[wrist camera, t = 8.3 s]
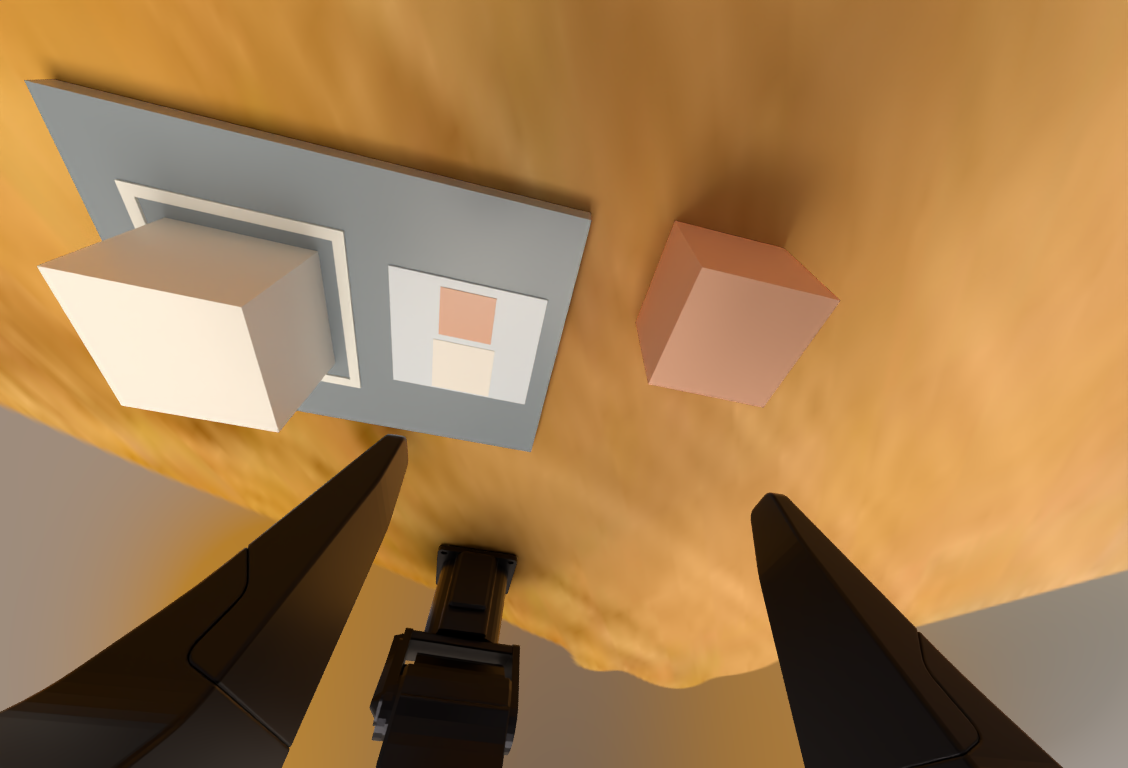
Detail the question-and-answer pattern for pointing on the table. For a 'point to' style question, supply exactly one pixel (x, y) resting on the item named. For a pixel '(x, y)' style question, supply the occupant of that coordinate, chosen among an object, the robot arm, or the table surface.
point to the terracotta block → (728, 315)
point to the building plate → (354, 256)
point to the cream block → (200, 321)
